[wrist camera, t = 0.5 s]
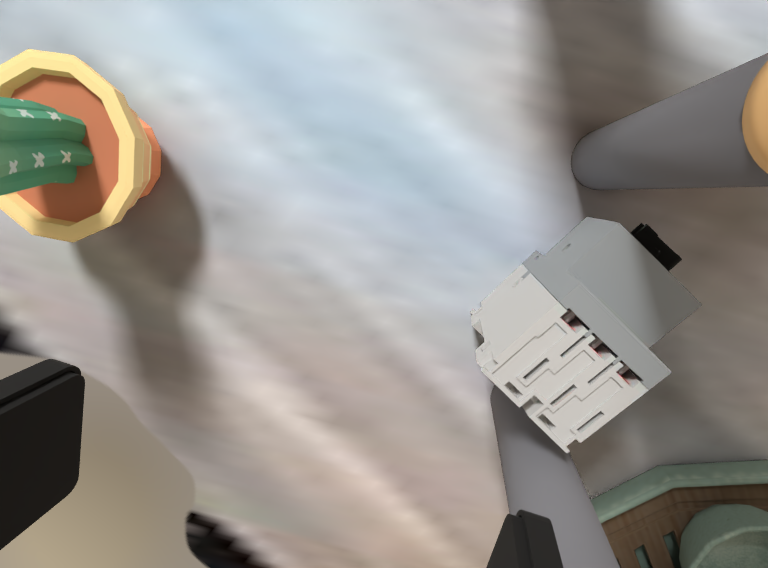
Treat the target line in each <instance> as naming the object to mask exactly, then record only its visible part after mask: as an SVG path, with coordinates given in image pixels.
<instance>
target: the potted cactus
mask: <svg viewBox="0 0 768 568" xmlns="http://www.w3.org/2000/svg"><path fill="white" fill-rule="evenodd" d="M161 152H162V151H161V149H160V146H159V144H158V142H157V140H156V137H155V135H154V133H153V130H152V128H151V127H150V126H148V125H147V124H146V123H145V122H144V121H142V120H141V119H140V118H139V117H138V115H137V113H136V112H134V111H133V110H132V109H131V108H130V107H129V106H128V104H127V101H126V99H125V97H124V95H123V94H122V93H121V92H120V91H119V90H117V89H116V88H115V87H114V86H113V85H111V84H110V83H109V82H108V81H107V80H105V79H104V78H103V77H102V76H101V75H99V74H98V73H97V72H96V71H95V70H93V69H92V68H91V67H90V66H89V65H87V64H86V63H84V62H83V61H81V60H80V59H78V58H77V57H75V56H74V55H69V54H61V53H54V52H47V51H39V50H32V49H27V50H26V51H24V52H22V53H21V54H19V55H17V56H15V57H14V58H12V59H10V60H8V61H7V62H5V63H3V64H1V65H0V209H1V210H3V211H4V212H5V213H6V214H7V215H9V216H10V217H11V218H12V219H13V220H15V221H16V222H17V223H18V224H19V225H21V226H22V227H23V228H24V229H26V230H27V231H28V232H29V233H30V234H32V235H36V236H42V237H47V238H52V239H57V240H63V241H68V242H75V241H78V240H80V239H83V238H85V237H87V236H89V235H92V234H94V233H96V232H98V231H101V230H103V229H105V228H107V227H110V226H112V225H114V224H116V223H119V222H121V220H122V218H123V217H124V215H125V213H126V212H127V210H128V209H130V208H131V207H133V206H134V205H135V203H136V202H137V200H138V199H140V198H142V197H144V196H146V195H148V194H149V193H150V192H151V190H152V188H153V187H154V185H155V184H156V182H157V180H158V179H159V177H160V175H161Z"/></svg>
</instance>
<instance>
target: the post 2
mask: <svg viewBox="0 0 768 568" xmlns="http://www.w3.org/2000/svg"><path fill="white" fill-rule="evenodd" d="M571 167H572V171H573V174H574V176H575V177H576V179H577V180H578V181H579V182H580V183H581V184H582V185H584V186H585V187H587V188H590V189H595V190H620V189H668V188H716V187H763V186H768V53H767V54H765V55H762V56H760V57H758V58H756V59H753V60H751V61H749V62H747V63H745V64H742V65H740V66H738V67H736V68H733V69H731V70H729V71H727V72H724V73H722V74H720V75H718V76H716V77H713V78H711V79H709V80H707V81H704V82H702V83H700V84H698V85H695V86H693V87H691V88H689V89H686V90H684V91H682V92H680V93H678V94H675V95H673V96H671V97H669V98H666V99H664V100H662V101H660V102H657V103H655V104H653V105H651V106H649V107H646V108H644V109H642V110H640V111H637V112H635V113H633V114H631V115H628V116H626V117H624V118H622V119H619V120H617V121H615V122H613V123H611V124H608V125H606V126H604V127H602V128H599V129H597V130H595V131H593V132H591V133H589V134H587V135H586V136H584V137H583V138H582V139H581V140H580V141H579V142H578V144H577V145H576V147H575V148H574V151H573V154H572V158H571Z"/></svg>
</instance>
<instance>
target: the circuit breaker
mask: <svg viewBox="0 0 768 568" xmlns="http://www.w3.org/2000/svg"><path fill="white" fill-rule="evenodd" d="M681 260H682V259H681V258H680V256H678V255H677V254H676V253H675V252H674V251H673V250H672V249H670V248H669V247H668V246H667V245H666V244H665V243H664V242H663V241H662V240H661V239H660V238H659V237H658V235H657V234H656V233H655V232H654V231H653V230H652V229H651V228H650V227H649V226H648V225H647V224H646V225H645V226H644V225H643V224H642V223H641V224H640V225H639V226H637V227H636V228H635V229H634V230H633V231H632V232H631V233H629V232H628V231H627V230H626V229H625V228H624V227H623V226H622V225H621V224H620V223H617V222H614V221H608V220H602V219H597V218H591V217H586V218H585V219H584V220H583V221H581V222H580V223H579V224H578V225H577V226H576V227H575V228H574V229H573V230H572V231H571V232H570V233H568V234H567V235H566V236H565V237H564V238H563V239H562V240H561V241H560V242H559V243H558V244H556V245H555V246H554V247H553V248H552V249H551V250H550V251H549V252H548V253H547V254H546V255H545V256H544V255H542V254H540V253H539V252H538V251H535V252H534V253H533V254H532V255H531V256H530V257H529V258H528V259H526V260H525V261H524V262H523V264H521V265H520V266H519V267H518V268H517V269H516V270H515V271H514V272H513V273H511V274H510V275H509V276H508V277H507V278H506V279H505V280H504V281H503V282H502V283H501V284H500V285H499V286H498V287H496V288H495V289H494V290H493V291H492V292H491V293H490V294H489V295H488V296H487V297H486V298H485V299H484V300H483V301H481V307H480V308H479V309H478V310H477V311H475V310H474V309H473V310H472V311H471V312H470V313H471V314H472V316H471V322H472V326H473V327H474V328H475V329H476V330H477V331H478V332H479V333H480V334H481V335H482V336H483V337H484V343H483V344H482V345H481V346H480V347H478V348H477V349H476V350H475V354H476V361H477V363H478V365H480V366H481V367H482V368H481V371H482V372H483V373H484V374H485V375H486V376H487V377H488V378H489V379H490V380H491V381H492V382H493V383H494V384H495V385H496V386H497V387H498V388H500V389H501V390H502V391H503V392H504V393H505V394H506V395H507V396H508V397H509V398H510V399H511V400H512V401H513V402H514V403H515V404H516V405H517V406H518V407H519V408H520V407H521V406H522V407H523V408H524V410H525V412H526V413H527V415H528V416H529V418H531V419H532V420H533V421H534V422H535V423H536V424H537V425H538V426H539V427H540V428H541V429H542V430H543V431H544V432H545V433H546V434H547V435H548V436H549V437H550V438H551V439H552V440H553V441H554V442H555V443H556V444H557V445H558V446H559V447H561V448H562V449H563V450H564V451H565V452H566V453H568V452H570V450H569V449H568V447H567V445H569V444H570V443H571V442H573V441H574V440H575V439H576V440H577V441H578V442H579V443H581V442H582V441H584V440H585V439H586V438H588V437H589V436H590V435H592V434H593V433H594V432H595V431H597V430H598V429H599V428H601V427H602V426H603V425H605V424H606V423H607V422H608V421H610V420H611V419H612V418H614V417H615V416H616V415H618V414H619V413H620V412H621V411H623V410H624V409H625V408H627V407H628V406H629V405H630V404H632V403H633V402H634V401H636V400H637V399H638V398H640V397H641V396H642V395H643V394H645V393H646V392H647V391H649V390H650V389H651V388H653V387H654V386H655V385H656V384H658V383H659V382H660V381H662V380H663V379H664V378H665V377H667V376H668V375H669V374H671V372H672V371H671V370H670V369H669V368H668V367H667V366H666V365H665V364H664V363H663V362H662V361H661V360H660V359H659V358H658V357H657V356H656V355H655V354H654V353H653V352H651V351H650V350H649V349H648V348H650V347H651V346H652V345H653V344H655V343H656V342H657V341H658V340H660V339H661V338H662V337H663V336H665V335H666V334H667V333H668V332H670V331H671V330H672V329H673V328H675V327H676V326H677V325H678V324H679V323H681V322H682V321H683V320H684V319H686V318H687V317H688V316H689V315H691V314H692V313H693V312H694V311H696V310H697V309H698V308H699V307H701V306H702V304H701V303H700V302H699V301H698V300H697V299H696V298H695V297H694V296H693V295H692V294H691V293H690V292H689V291H688V290H687V289H686V288H685V287H684V286H683V285H682V284H681V283H680V282H679V281H678V280H677V279H676V278H675V277H674V276H673V275H672V274H671V273H670V272H669V270H670V269H672V268H673V267H674V266H675V265H676V264H678V263H679V262H680V261H681ZM568 308H569V309H568ZM576 316H577V317H578V318H579V319H580V320H581V321H582V322H583V323H584V324H585V325H586V326H587V327H588V328H587V327H586V326H585V325H584V324H583V323H582V322H581V321H580V320H579V319H578V318H577V317H576ZM620 361H621V362H620ZM628 369H629V370H630V371H631V372H632V373H633V374H634V375H635V376H636V377H637V378H638V379H639V380H640V381H641V382H642V383H643V384H644V385H645V386H646V387H647V388H648V389H649V390H648V389H647V388H646V387H645V386H644V385H643V384H642V383H641V382H640V381H639V380H638V379H637V378H636V377H635V376H634V375H633V374H632V373H631V372H630V371H629V370H628Z"/></svg>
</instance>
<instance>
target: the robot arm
mask: <svg viewBox="0 0 768 568" xmlns="http://www.w3.org/2000/svg"><path fill="white" fill-rule="evenodd" d="M84 389H85V380H84V377H83V376H81V371H80V369H79V368H78V367H76V366H73V365H70V364H67V363H64V362H61V361H58V360H54V359H48V360H45V361H42V362H40V363H38V364H35V365H33V366H31V367H29V368H27V369H24V370H22V371H20V372H17V373H15V374H13V375H11V376H9V377H6V378H4V379H2V380H0V550H1V549H2V548H3V547H5V546H6V545H7V544H8V543H10V542H11V541H12V540H13V539H14V538H16V537H17V536H18V535H19V534H21V533H22V532H23V531H24V530H26V529H27V528H28V527H29V526H30V525H32V524H33V523H34V522H35V521H37V520H38V519H39V518H40V517H42V516H43V515H44V514H45V513H46V512H48V511H49V510H50V509H51V508H53V507H54V506H55V505H56V504H58V503H59V502H60V501H61V500H62V499H64V498H65V497H66V496H67V495H68V494H69V493H70V492H71V491H72V490H73V489H74V487H75V485H76V483H77V481H78V477H79V464H80V449H81V434H82V433H81V432H82V417H83V404H84ZM487 568H563V564H562V560H561V556H560V552H559V549H558V545H557V541H556V537H555V533H554V529H553V526H552V523H551V520H550V519H549V518H547V517H544V516H541V515H538V514H534V513H531V512H528V511H525V510H522V509H521V510H519V511H518V512H517V514H516V516H515V515H512V514H508V515H507V516H506V518H505V520H504V523H503V526H502V528H501V531H500V534H499V536H498V539H497V541H496V544H495V547H494V549H493V552H492V554H491V557H490V560H489V562H488V565H487Z"/></svg>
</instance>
